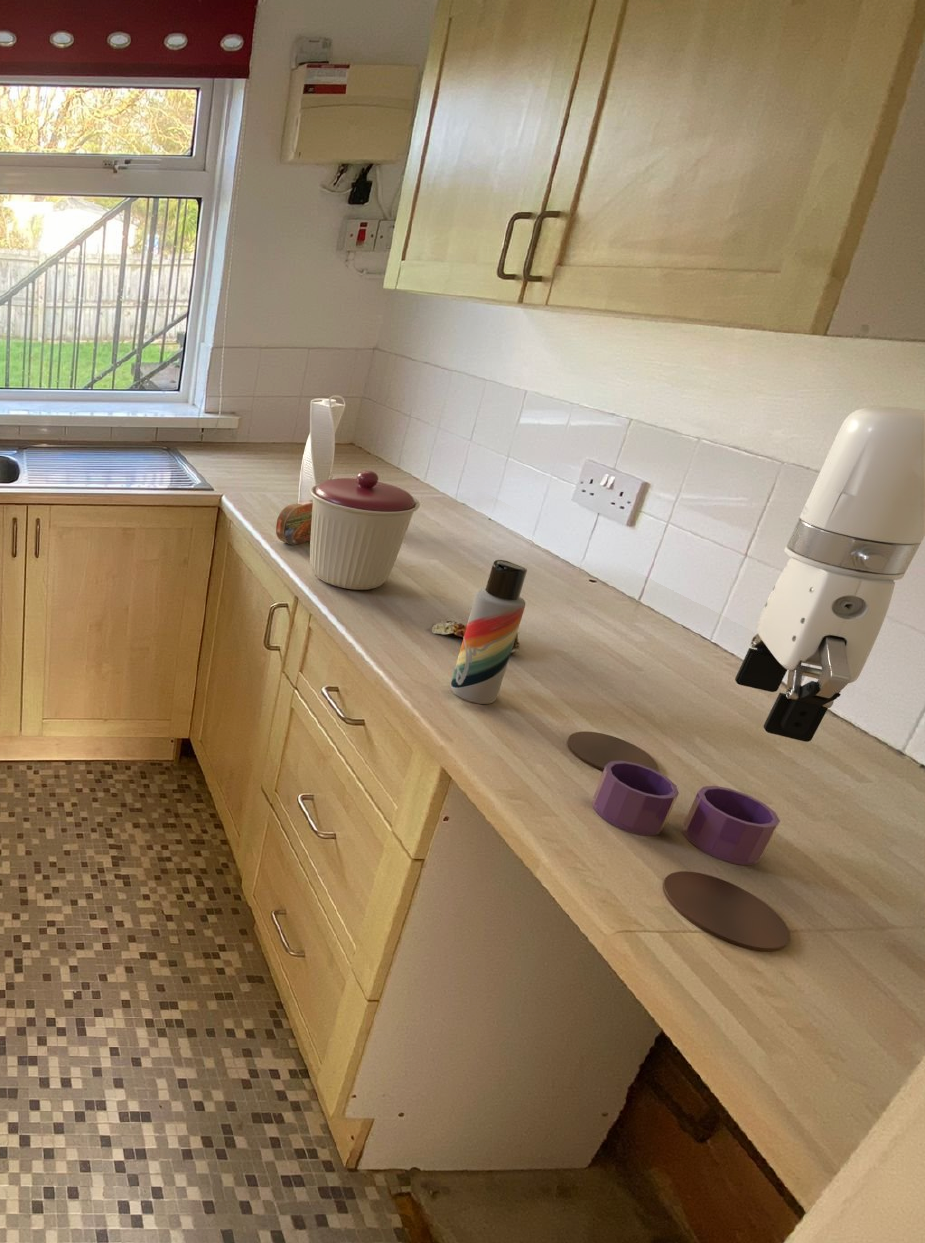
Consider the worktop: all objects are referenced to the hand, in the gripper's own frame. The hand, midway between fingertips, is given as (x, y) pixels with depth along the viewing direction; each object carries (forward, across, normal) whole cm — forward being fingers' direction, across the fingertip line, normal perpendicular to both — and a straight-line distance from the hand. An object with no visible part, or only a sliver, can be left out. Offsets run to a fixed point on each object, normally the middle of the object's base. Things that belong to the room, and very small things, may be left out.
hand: (769, 710), depth 74 cm
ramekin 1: (+17, +1, +7) cm, 18 cm away
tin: (+17, +70, +54) cm, 90 cm away
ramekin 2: (+17, +1, -1) cm, 17 cm away
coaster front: (+17, -11, +1) cm, 20 cm away
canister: (+17, +54, +42) cm, 70 cm away
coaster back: (+17, +13, +6) cm, 22 cm away
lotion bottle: (+17, +20, +22) cm, 34 cm away
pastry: (+17, +38, +22) cm, 47 cm away
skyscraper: (+17, +91, +55) cm, 108 cm away
